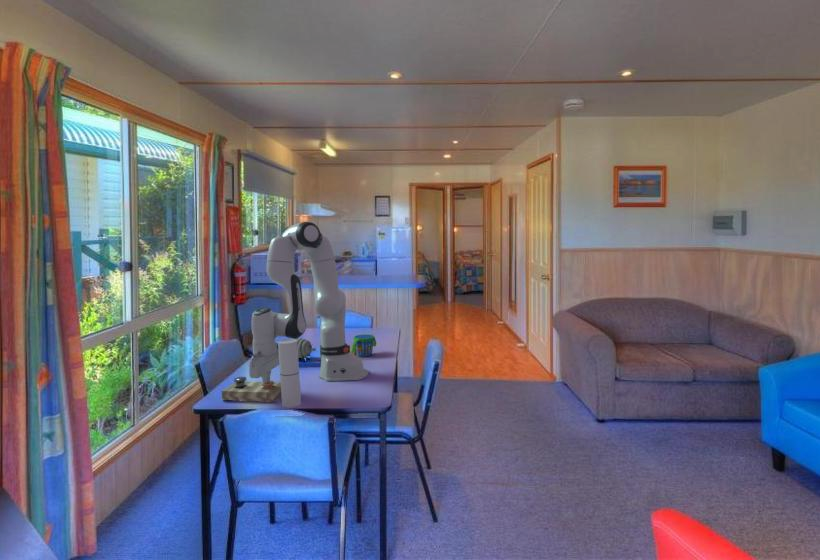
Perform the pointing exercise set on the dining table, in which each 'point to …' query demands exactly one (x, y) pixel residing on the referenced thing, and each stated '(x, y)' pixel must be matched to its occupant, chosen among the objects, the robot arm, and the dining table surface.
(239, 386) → the charcoal button
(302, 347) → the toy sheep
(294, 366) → the cylindrical container
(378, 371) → the dining table surface
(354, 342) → the snack cup
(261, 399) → the button panel
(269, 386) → the terracotta button
